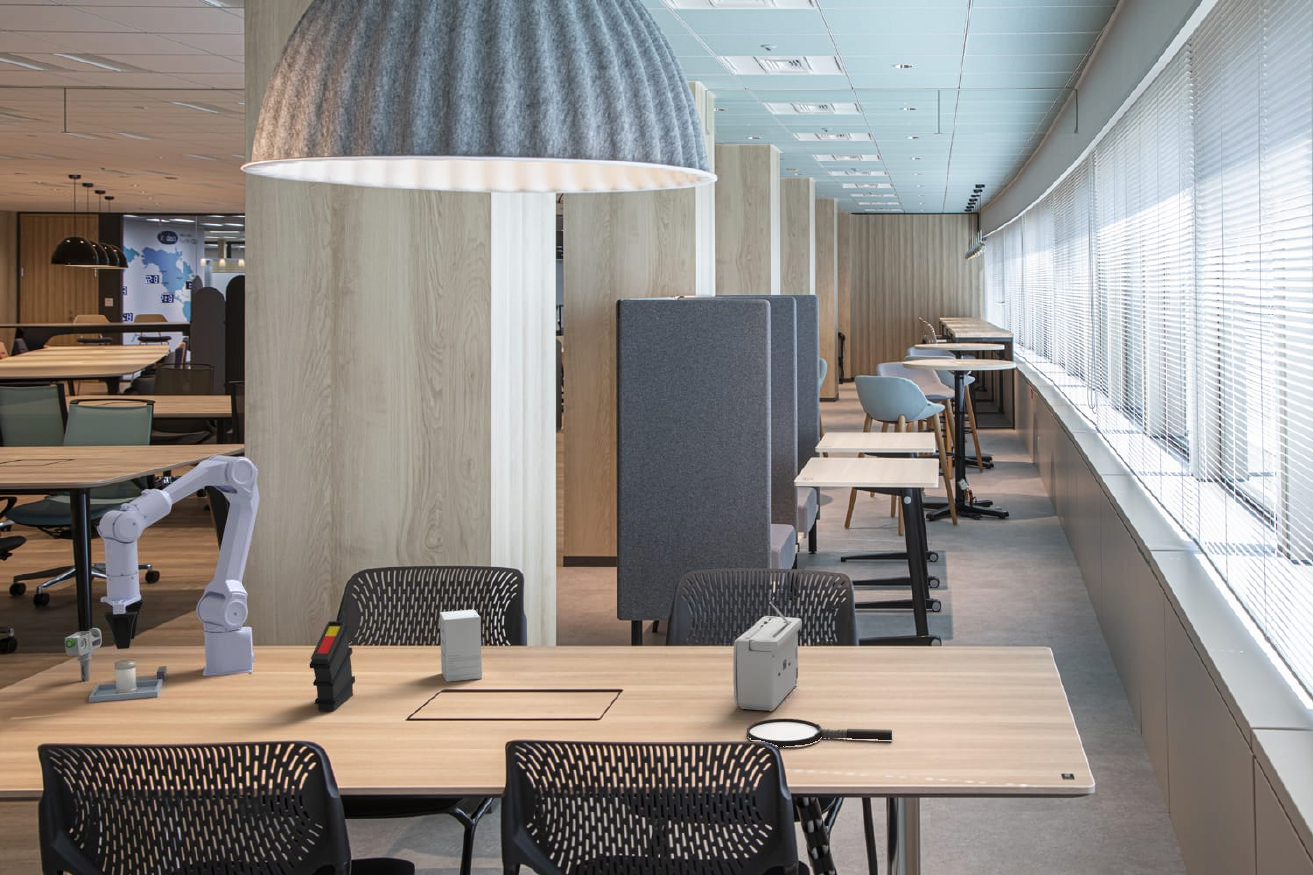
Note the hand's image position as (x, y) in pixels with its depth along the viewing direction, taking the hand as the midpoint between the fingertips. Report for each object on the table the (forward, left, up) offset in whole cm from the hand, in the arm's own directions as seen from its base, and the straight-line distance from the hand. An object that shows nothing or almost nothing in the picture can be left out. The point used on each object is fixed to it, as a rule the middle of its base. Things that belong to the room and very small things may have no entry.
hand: (126, 643), depth 245 cm
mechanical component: (+9, -12, -10) cm, 18 cm away
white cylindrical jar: (0, +1, -9) cm, 9 cm away
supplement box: (-63, +7, -10) cm, 64 cm away
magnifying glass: (-115, +65, -11) cm, 133 cm away
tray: (0, +1, -10) cm, 10 cm away
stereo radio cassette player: (-116, +40, -10) cm, 123 cm away
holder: (-2, -9, -10) cm, 14 cm away
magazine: (-38, +20, -10) cm, 44 cm away
